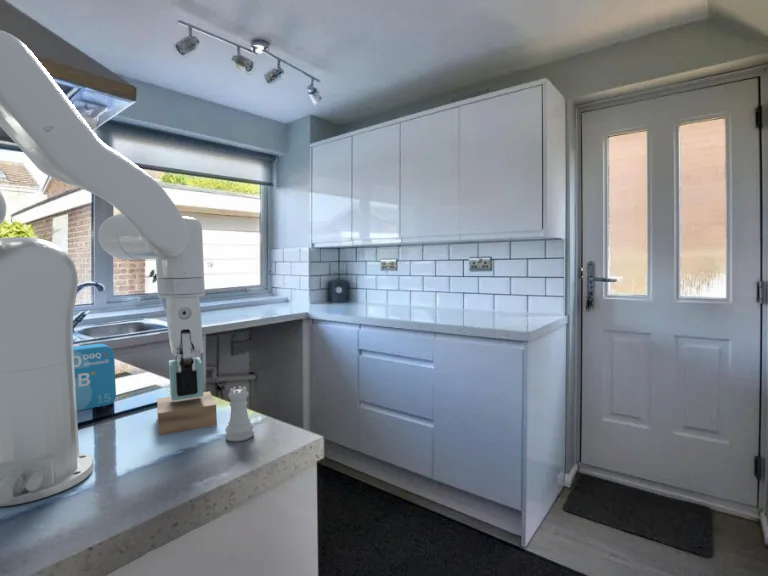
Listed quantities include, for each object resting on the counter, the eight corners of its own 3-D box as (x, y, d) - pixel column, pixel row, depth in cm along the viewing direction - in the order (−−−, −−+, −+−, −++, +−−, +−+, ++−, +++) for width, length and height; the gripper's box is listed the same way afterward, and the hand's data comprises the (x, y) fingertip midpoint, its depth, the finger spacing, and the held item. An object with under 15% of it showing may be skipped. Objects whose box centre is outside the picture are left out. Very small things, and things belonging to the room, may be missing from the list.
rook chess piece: (221, 436, 72) (219, 388, 71) (247, 429, 75) (246, 383, 74) (231, 445, 68) (229, 394, 68) (258, 437, 71) (257, 388, 71)
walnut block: (216, 427, 77) (216, 404, 77) (159, 437, 73) (158, 413, 72) (210, 411, 85) (209, 391, 85) (157, 420, 81) (157, 398, 80)
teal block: (203, 396, 78) (201, 362, 77) (171, 400, 75) (170, 366, 75) (200, 389, 82) (198, 357, 82) (170, 393, 80) (168, 360, 79)
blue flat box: (42, 418, 81) (38, 354, 80) (39, 412, 85) (35, 350, 84) (116, 403, 89) (113, 345, 89) (111, 398, 93) (108, 342, 92)
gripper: (210, 290, 72) (215, 400, 73) (199, 285, 87) (203, 376, 88) (158, 292, 68) (164, 407, 69) (156, 286, 83) (161, 381, 84)
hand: (186, 389), depth 79 cm, fingers closed on teal block, 5 cm apart
